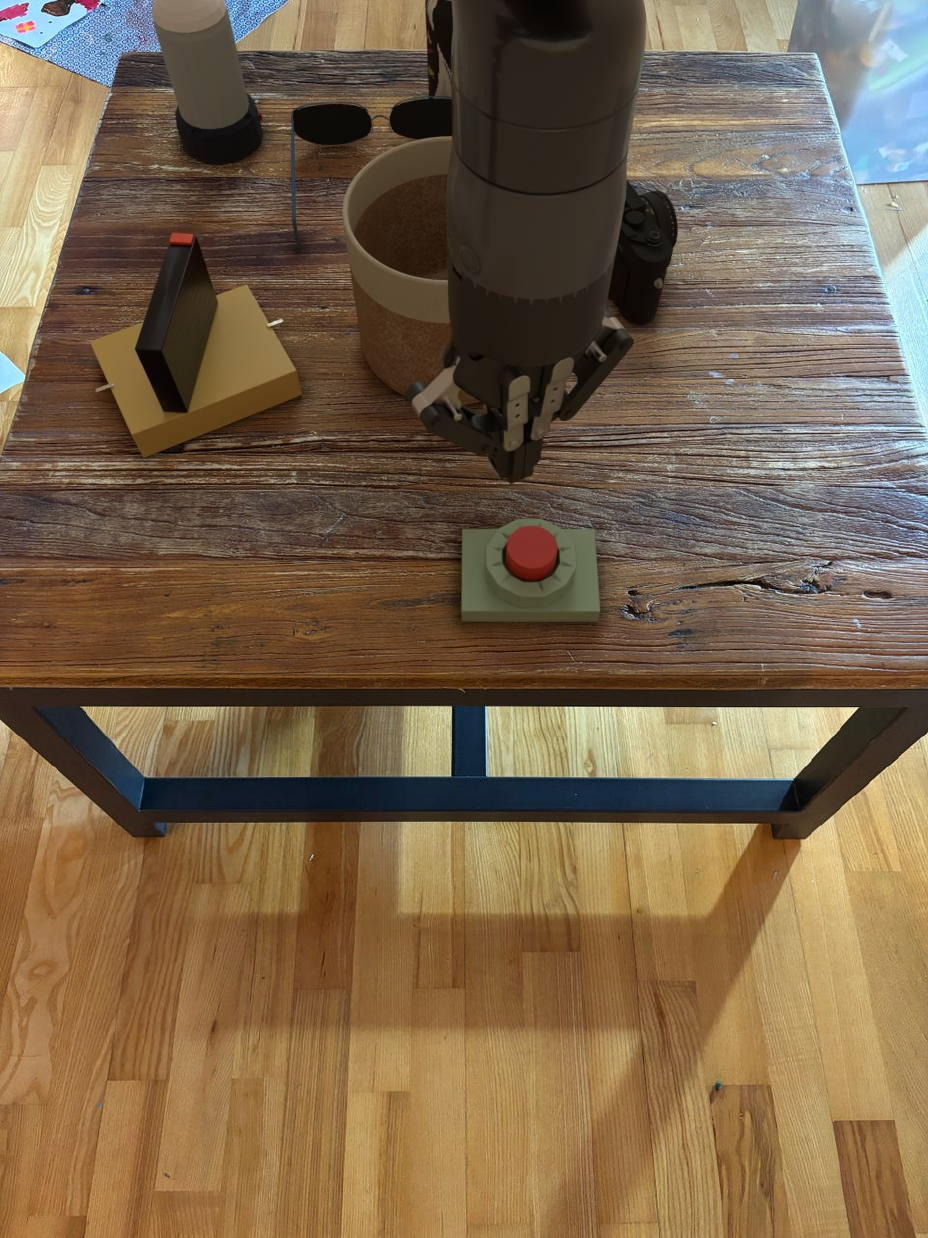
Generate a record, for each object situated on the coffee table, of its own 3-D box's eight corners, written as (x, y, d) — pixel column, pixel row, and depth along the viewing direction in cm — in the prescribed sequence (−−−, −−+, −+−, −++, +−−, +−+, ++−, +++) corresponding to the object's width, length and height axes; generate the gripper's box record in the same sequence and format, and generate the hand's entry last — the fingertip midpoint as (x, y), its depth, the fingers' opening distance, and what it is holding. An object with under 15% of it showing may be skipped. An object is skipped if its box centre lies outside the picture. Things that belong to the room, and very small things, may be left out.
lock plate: (130, 463, 74) (117, 438, 72) (89, 371, 79) (75, 344, 76) (314, 390, 78) (308, 364, 75) (265, 305, 82) (258, 277, 79)
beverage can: (430, 88, 96) (426, -37, 85) (485, 90, 96) (487, -36, 85) (427, 124, 93) (422, -1, 83) (484, 125, 93) (485, 1, 82)
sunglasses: (468, 135, 92) (468, 92, 88) (479, 253, 87) (480, 214, 83) (296, 145, 92) (287, 102, 87) (298, 264, 87) (289, 225, 82)
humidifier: (274, 116, 94) (212, -185, 72) (247, 169, 90) (174, -131, 68) (199, 105, 95) (115, -195, 72) (169, 157, 91) (72, -143, 69)
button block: (461, 621, 68) (461, 599, 64) (462, 540, 71) (461, 515, 68) (597, 622, 68) (603, 599, 64) (592, 540, 71) (597, 515, 68)
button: (506, 580, 66) (507, 568, 64) (505, 537, 67) (506, 525, 66) (556, 581, 66) (558, 568, 64) (554, 538, 67) (556, 525, 66)
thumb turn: (187, 413, 73) (160, 348, 66) (162, 411, 73) (132, 346, 66) (218, 302, 78) (195, 231, 72) (195, 301, 78) (170, 230, 72)
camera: (702, 310, 81) (724, 236, 74) (631, 335, 80) (646, 262, 73) (624, 209, 87) (638, 131, 80) (557, 231, 86) (565, 154, 79)
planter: (401, 256, 85) (390, 116, 72) (566, 299, 82) (583, 161, 70) (332, 382, 78) (306, 251, 66) (509, 433, 75) (517, 306, 63)
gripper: (615, 137, 43) (575, 388, 59) (359, 226, 40) (387, 465, 56) (706, 236, 40) (638, 473, 56) (436, 340, 37) (443, 560, 53)
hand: (512, 469), depth 56 cm, fingers closed
